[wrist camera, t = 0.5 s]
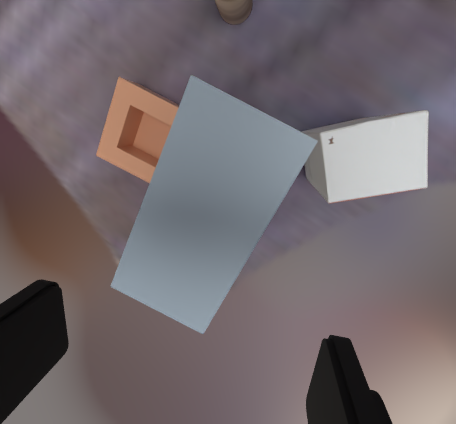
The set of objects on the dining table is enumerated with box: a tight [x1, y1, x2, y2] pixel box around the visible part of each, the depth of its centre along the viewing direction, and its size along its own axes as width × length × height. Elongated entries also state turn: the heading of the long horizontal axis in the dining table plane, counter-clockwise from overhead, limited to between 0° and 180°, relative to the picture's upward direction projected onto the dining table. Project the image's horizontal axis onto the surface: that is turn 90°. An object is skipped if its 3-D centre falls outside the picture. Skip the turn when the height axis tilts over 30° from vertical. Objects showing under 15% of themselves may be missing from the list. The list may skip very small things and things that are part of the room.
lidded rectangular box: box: [111, 75, 318, 334], centre depth 26 cm, size 16×8×20 cm, turn 154°
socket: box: [96, 77, 179, 183], centre depth 34 cm, size 10×10×5 cm
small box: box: [302, 110, 429, 203], centre depth 27 cm, size 8×6×13 cm
